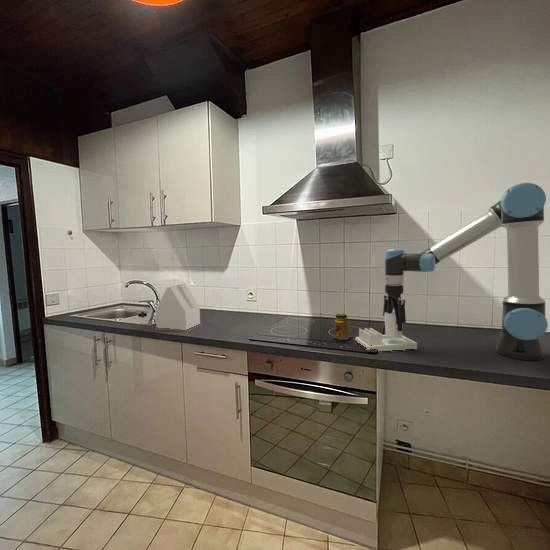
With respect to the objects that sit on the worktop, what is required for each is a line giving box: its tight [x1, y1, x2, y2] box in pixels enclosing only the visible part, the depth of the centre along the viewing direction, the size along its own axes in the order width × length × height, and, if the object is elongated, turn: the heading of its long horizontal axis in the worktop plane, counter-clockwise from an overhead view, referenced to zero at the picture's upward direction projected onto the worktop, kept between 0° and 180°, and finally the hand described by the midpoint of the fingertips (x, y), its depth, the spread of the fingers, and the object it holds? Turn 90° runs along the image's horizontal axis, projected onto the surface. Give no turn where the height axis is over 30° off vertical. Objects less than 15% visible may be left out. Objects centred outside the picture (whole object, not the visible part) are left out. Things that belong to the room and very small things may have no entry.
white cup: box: [384, 311, 404, 338], centre depth 137 cm, size 8×8×10 cm
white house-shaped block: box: [155, 283, 201, 330], centre depth 179 cm, size 19×15×25 cm
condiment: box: [334, 313, 349, 338], centre depth 149 cm, size 7×8×12 cm
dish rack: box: [354, 327, 418, 352], centre depth 137 cm, size 14×22×7 cm, turn 98°
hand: (393, 335), depth 137 cm, fingers closed on white cup, 7 cm apart
